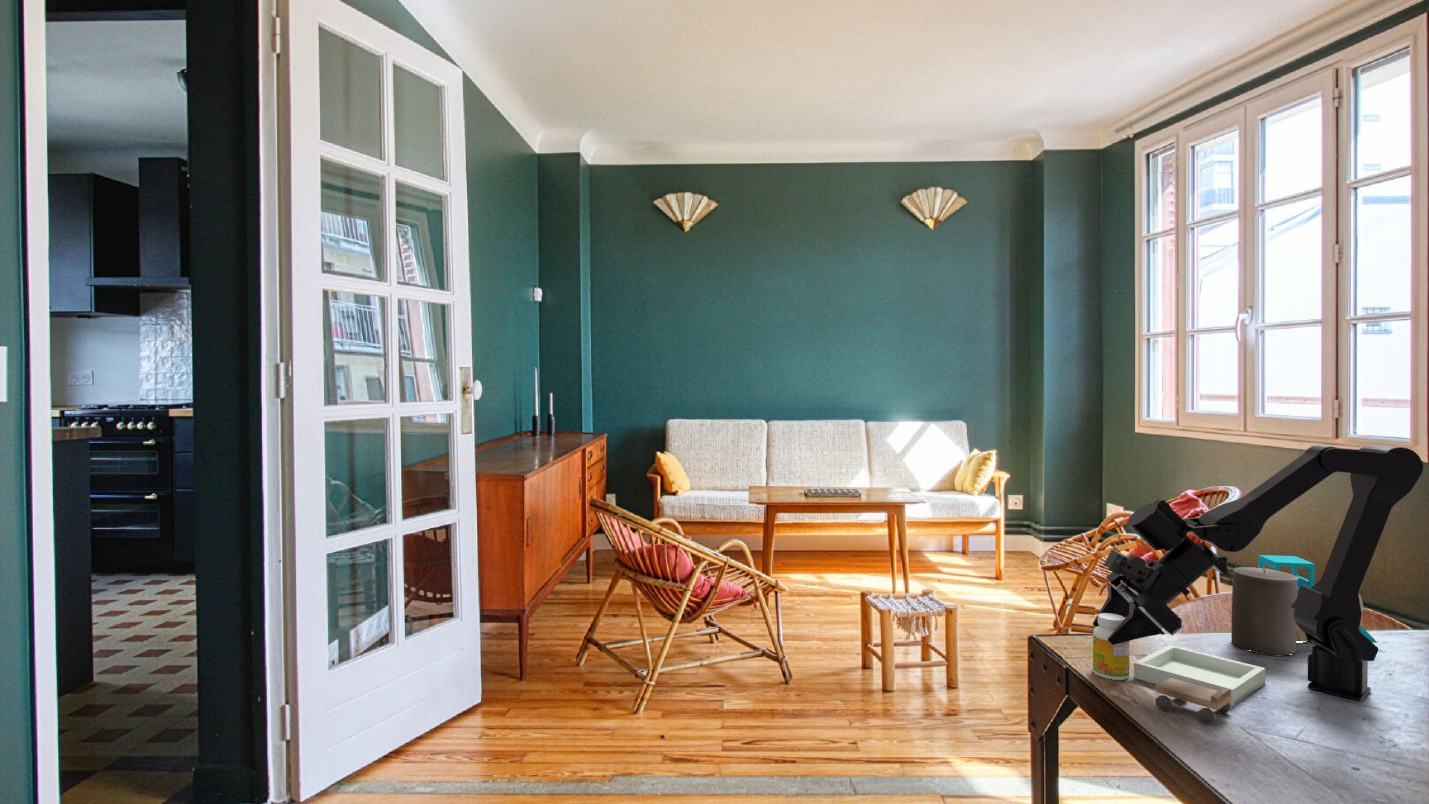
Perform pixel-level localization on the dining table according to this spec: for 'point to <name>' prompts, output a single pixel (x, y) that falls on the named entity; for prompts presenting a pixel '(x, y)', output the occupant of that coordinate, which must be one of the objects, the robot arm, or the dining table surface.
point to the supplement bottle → (1110, 649)
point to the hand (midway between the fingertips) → (1102, 634)
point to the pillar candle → (1264, 610)
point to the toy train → (1300, 581)
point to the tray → (1200, 671)
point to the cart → (1194, 698)
